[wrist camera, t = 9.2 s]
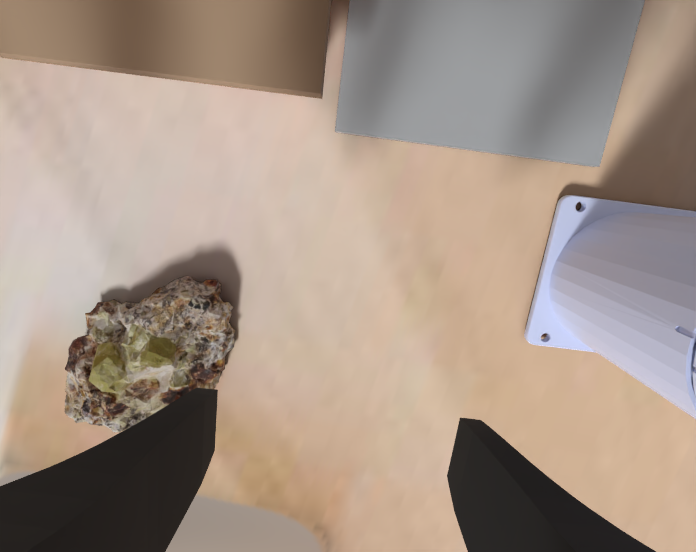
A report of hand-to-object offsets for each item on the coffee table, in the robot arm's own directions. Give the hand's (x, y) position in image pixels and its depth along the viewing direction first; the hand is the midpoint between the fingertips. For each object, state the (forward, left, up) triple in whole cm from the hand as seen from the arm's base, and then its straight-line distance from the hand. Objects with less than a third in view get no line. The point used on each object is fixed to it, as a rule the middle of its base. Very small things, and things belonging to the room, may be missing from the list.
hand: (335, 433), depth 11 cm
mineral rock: (+10, +3, -10) cm, 15 cm away
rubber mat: (-5, -16, -10) cm, 19 cm away
